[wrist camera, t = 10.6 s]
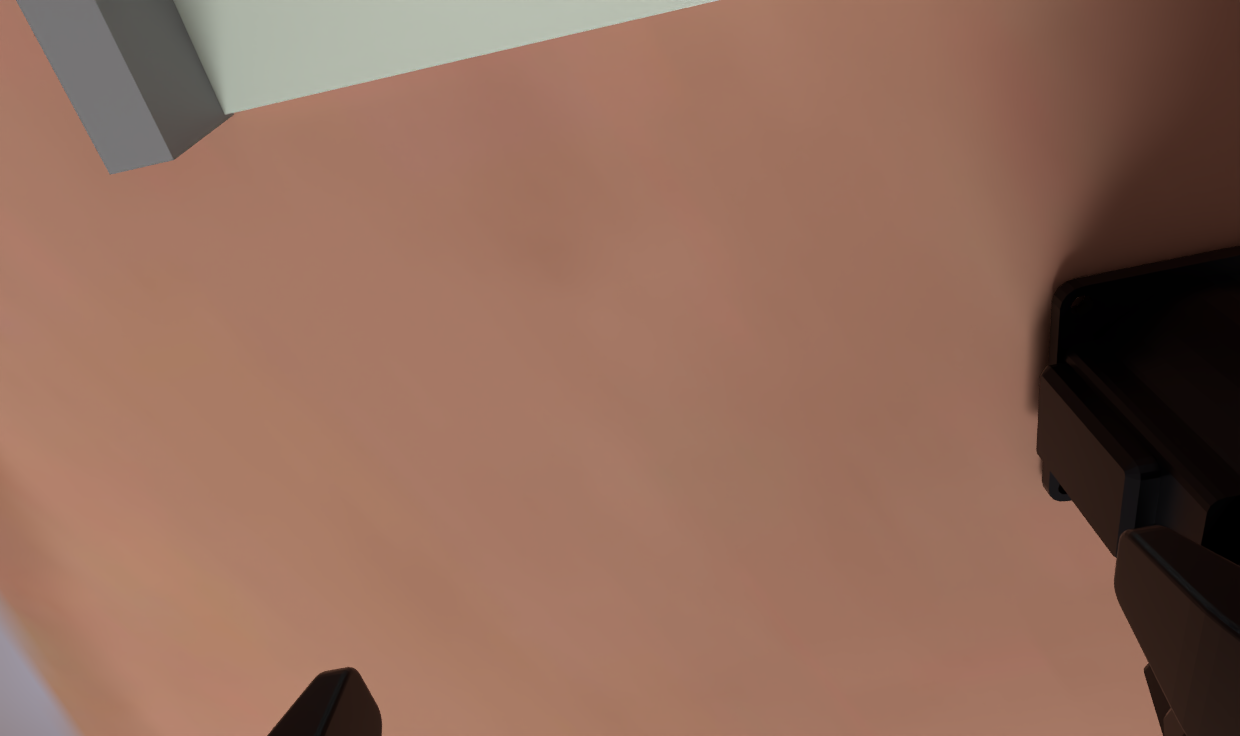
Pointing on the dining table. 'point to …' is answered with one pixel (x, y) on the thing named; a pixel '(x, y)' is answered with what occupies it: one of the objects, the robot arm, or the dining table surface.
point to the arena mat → (372, 38)
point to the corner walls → (128, 76)
